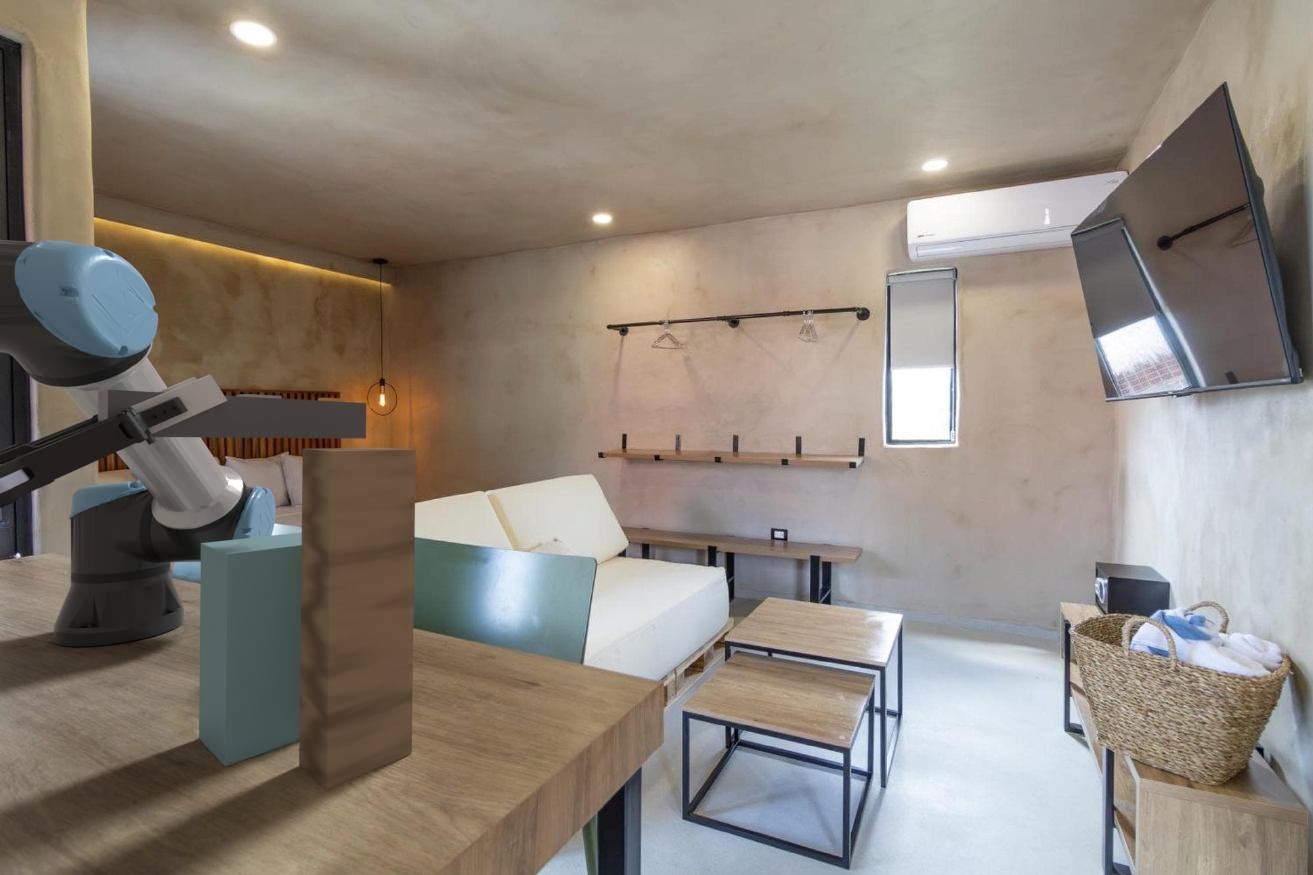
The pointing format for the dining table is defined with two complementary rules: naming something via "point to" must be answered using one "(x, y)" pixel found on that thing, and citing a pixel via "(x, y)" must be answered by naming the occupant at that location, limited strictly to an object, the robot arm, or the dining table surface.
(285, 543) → the teal block
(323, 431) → the power strip
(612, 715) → the dining table surface
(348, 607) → the walnut stand
